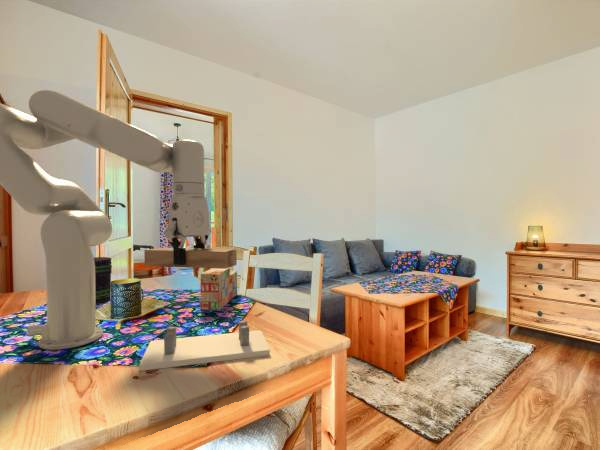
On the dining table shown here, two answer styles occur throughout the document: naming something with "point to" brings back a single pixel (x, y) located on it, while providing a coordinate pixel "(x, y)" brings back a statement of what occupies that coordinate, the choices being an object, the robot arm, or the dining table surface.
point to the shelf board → (192, 258)
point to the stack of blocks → (217, 288)
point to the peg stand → (203, 348)
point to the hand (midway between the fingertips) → (190, 261)
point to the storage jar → (102, 279)
